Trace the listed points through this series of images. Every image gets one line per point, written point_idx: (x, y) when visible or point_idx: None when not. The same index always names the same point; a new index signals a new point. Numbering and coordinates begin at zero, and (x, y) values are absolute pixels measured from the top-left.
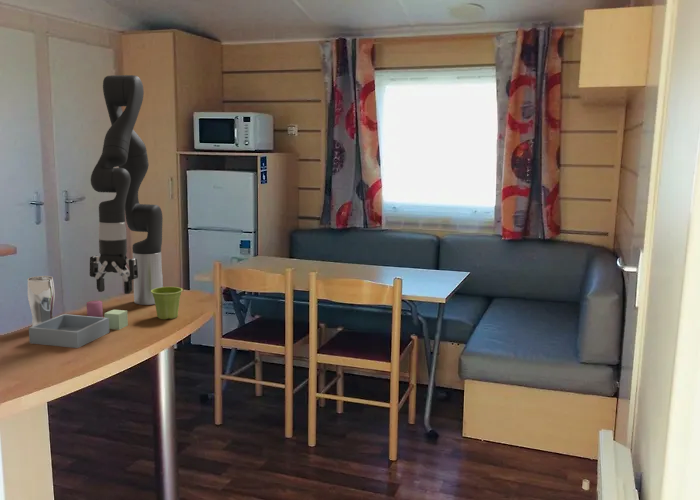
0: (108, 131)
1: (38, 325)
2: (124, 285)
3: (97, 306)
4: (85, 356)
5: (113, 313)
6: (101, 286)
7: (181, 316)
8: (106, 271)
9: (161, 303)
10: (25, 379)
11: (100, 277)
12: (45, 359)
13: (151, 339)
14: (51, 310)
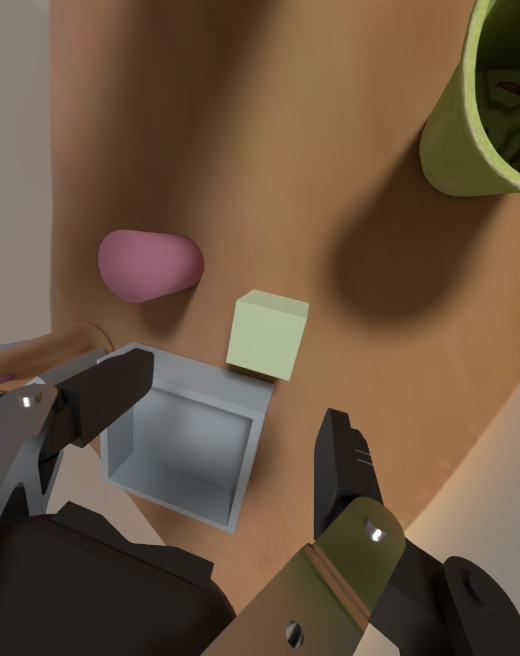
0: None
1: (109, 464)
2: (315, 501)
3: (161, 291)
4: (285, 539)
5: (262, 365)
6: (128, 395)
7: None
8: (27, 476)
9: (508, 191)
10: (233, 605)
11: (60, 445)
12: (216, 538)
13: (430, 455)
14: (58, 380)
